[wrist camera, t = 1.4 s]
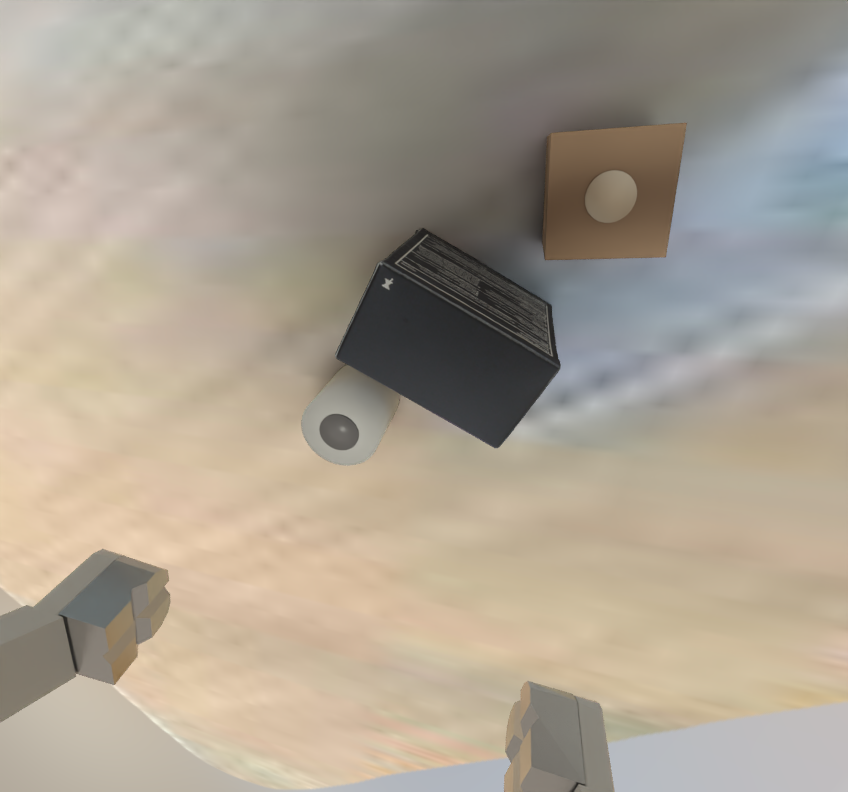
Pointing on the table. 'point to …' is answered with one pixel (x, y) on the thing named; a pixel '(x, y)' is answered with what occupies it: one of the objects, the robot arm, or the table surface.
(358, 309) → the small box
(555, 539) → the table surface
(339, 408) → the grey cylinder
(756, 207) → the table surface
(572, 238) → the walnut cube
